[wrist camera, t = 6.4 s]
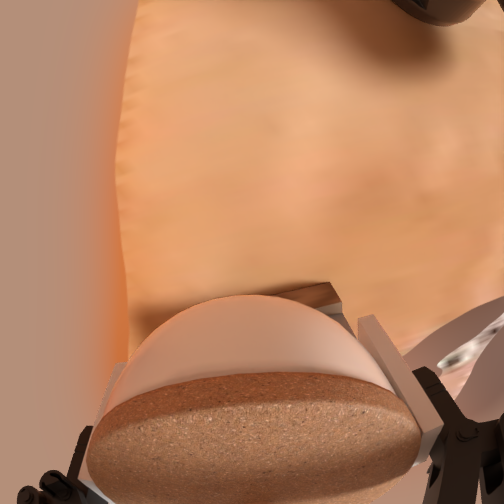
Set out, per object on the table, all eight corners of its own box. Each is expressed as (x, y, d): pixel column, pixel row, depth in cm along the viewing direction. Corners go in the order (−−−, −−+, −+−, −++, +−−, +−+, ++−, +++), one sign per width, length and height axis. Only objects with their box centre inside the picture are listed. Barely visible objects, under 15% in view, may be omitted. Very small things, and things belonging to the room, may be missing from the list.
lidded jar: (385, 274, 13) (512, 429, 5) (309, 423, 17) (342, 555, 9) (141, 225, 12) (13, 420, 3) (133, 402, 16) (103, 548, 7)
